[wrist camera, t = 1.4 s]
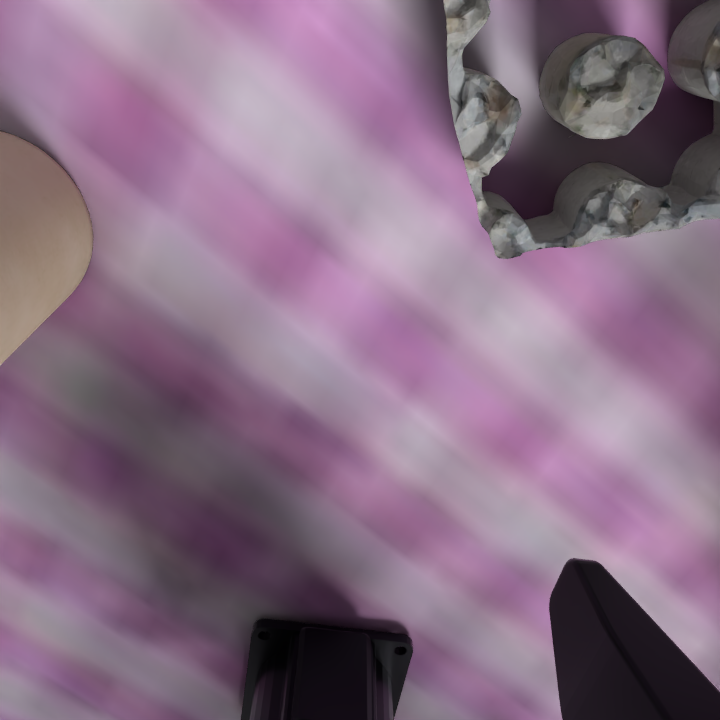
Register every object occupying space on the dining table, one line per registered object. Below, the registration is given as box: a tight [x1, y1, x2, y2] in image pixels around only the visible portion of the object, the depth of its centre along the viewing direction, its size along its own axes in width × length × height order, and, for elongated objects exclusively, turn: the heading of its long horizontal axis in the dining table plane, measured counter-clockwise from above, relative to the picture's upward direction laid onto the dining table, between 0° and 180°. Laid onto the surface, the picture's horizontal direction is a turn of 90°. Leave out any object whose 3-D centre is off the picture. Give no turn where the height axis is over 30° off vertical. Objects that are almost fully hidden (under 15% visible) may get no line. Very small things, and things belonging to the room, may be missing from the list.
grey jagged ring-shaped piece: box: [443, 0, 720, 259], centre depth 16 cm, size 11×8×4 cm
